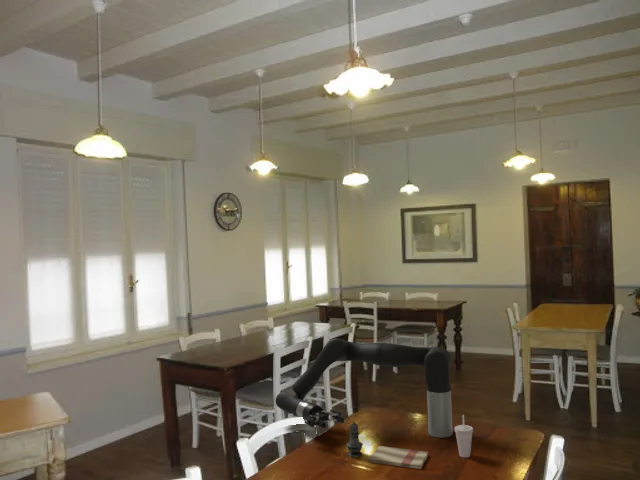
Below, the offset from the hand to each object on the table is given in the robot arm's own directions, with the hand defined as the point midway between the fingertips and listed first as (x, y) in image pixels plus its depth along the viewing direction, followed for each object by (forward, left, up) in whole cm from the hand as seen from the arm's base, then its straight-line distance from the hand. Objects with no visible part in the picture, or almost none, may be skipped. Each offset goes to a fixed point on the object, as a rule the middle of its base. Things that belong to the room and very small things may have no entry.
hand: (334, 422), depth 204 cm
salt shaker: (+6, +10, -9) cm, 14 cm away
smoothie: (-5, +47, -9) cm, 48 cm away
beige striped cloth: (+5, +26, -8) cm, 28 cm away
